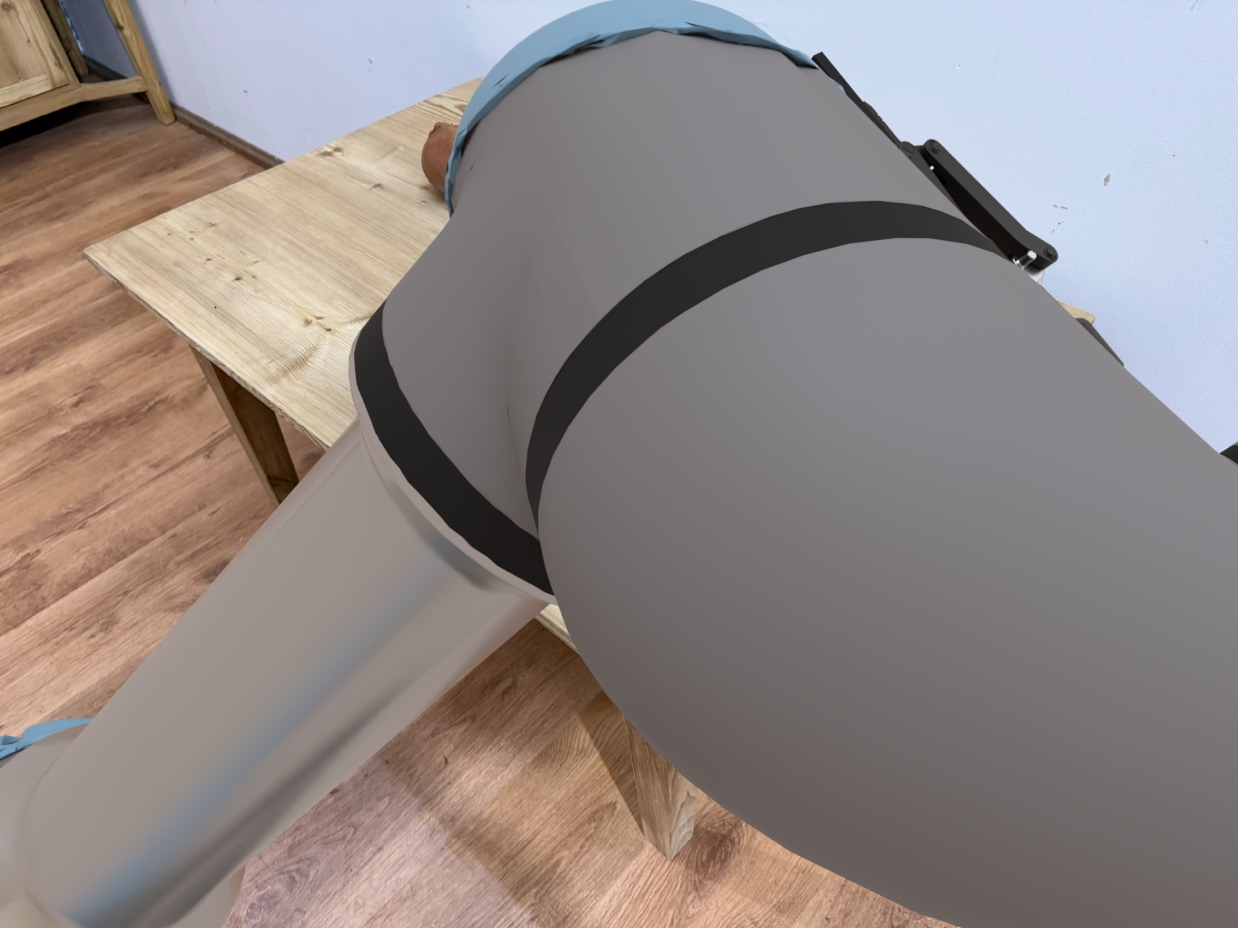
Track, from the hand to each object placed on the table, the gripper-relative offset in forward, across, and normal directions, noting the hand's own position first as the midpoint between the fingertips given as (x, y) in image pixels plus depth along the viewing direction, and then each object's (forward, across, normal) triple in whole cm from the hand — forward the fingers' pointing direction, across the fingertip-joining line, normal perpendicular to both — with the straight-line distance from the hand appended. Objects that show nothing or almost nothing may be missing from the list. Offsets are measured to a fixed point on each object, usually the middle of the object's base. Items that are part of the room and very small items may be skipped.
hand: (791, 79), depth 47 cm
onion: (+35, +14, -62) cm, 73 cm away
